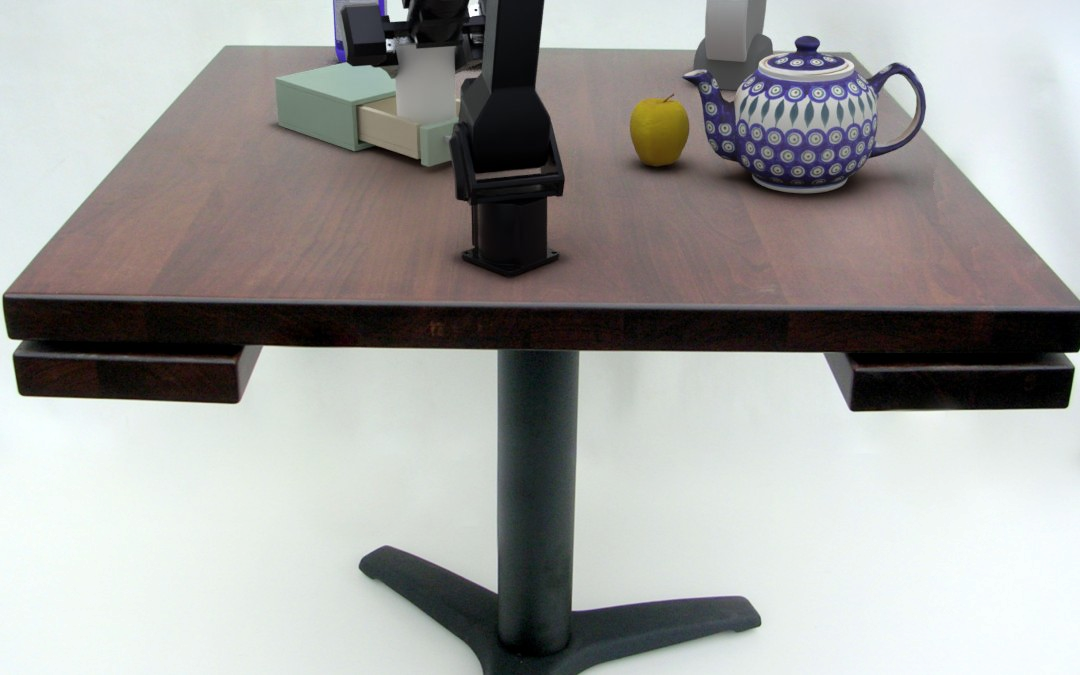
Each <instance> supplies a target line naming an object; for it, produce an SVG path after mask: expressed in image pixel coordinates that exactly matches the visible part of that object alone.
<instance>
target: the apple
mask: <svg viewBox="0 0 1080 675" xmlns="http://www.w3.org/2000/svg"><path fill="white" fill-rule="evenodd" d="M674 96H675V92H674V93H672V94H671V95H670V96H668V97H666V98H663V97H662V98H658V97H657V98H655V97H650V98H645V99H642V100H641V101H639V102H638V103H637V104H636V105H635V106H634V107H633V110H632V112H631V115H630V120H629V134H630V138H631V142H632V145H633V147H634V150H635V152H636V154H637V157H638V158H639V159H640V161H641V162H642V164H644V165H645V166H652V167H656V168H657V167H662V166H669V165H673V164H674V163H675V162H677V161H678V160H679V158H680V157H681V155H682V152H683V151H684V149H685V146H686V144H687V142H688V140H689V135H690V120H689V116H688V112H687V110H686V109H685V107H684V106H683V104H682V103H681V102H679V101H678V100H674V99H671V98H672V97H674Z"/></svg>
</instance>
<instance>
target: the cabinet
mask: <svg viewBox="0 0 1080 675" xmlns="http://www.w3.org/2000/svg"><path fill="white" fill-rule="evenodd" d="M274 82H275V95H276V107H277V118H278V126H279V127H282V128H284V129H288V130H291V131H293V132H296V133H299V134H303V135H305V136H308V137H311V138H314V139H317V140H320V141H323V142H325V143H329V144H331V145H335V146H336V147H337V146H338V147H340V148H343V149H346V150H349V151H351V152H357V151H361V150H365V149H369V148H372V147H377V146H376V145H373V144H370V143H367V142H364V141H361V140H358V134H357V117H356V105H360V104H364V103H368V102H372V101H376V100H380V99H384V98H388V97H392V96H396V82H395V79H391V78H390V76H389V75H388V73H387V72H386V71H385V70H383V69H382V68H374V67H372V66H371V65H368V66H354V67H353V66H351V65H350V64H348V63H347V62H345V63H342V62H340V63H337V64H333V65H328V66H327V65H326V66H322V67H318V68H315V69H310V70H305V71H300V72H296V73H291V74H287V75H281V76H277V77H275V78H274Z"/></svg>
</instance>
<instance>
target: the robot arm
mask: <svg viewBox="0 0 1080 675" xmlns="http://www.w3.org/2000/svg"><path fill="white" fill-rule="evenodd" d="M401 2H402V3H401V4H402V8H403V9H404V10H406V9H407V10H408V11H407V14H406V20H401V21H400V20H399V21H391V18H390V15H388V14H387V15H384V16H381V13H380V8H379V5H378V4H377V3H367V4H350V5H344V6H343V7H342V9H341V10H340V13H339V25H340V30H341V35H342V41H343V46H344V51H345V57H346V62H347V63H348V64H350V65H351V66H353V67H354V66H368V65H371V66H372V67H374V68H382V69H383V70H385V71H386V72H387V73H388V75H389V76H390V78H391V79H395V77H396V76H397V72H398V66H399V63H398V58H397V53H396V47H397V46H405V45H416V49H421V48H435V47H450V46H455V49H454V53H455V75H456V74H459V73H461V72H463V71H465V70H468V69H470V68H472V67H474V66H476V65H479V64H482V65H481V72H480V73H479V75H478V76H477V77H466V78H464V80H463V82H462V84H461V86H460V98H459V99H460V110H459V115H458V117H459V120H458V123H455V124H454V126H453V133H452V136H451V139H450V140H449V149H450V155H451V160H450V161H451V165H452V171H453V172H452V173H453V178H454V192H455V193H454V197H455V199H456V200H457V201H460V202H461V201H462V202H464V203H465V202H467V204H468V206H470V211H471V212H470V214H471V246H473V247H472V248H469V249H467V250H463V251H462V252H460V254H461V255H460V256H461V259H463V260H466V261H468V262H470V263H473V264H475V265H478V266H481V267H483V268H485V269H488V270H491V271H493V272H496V273H499V274H501V275H503V276H507V277H514V276H516V275H519V274H522V273H524V272H526V271H529V270H531V269H535V268H537V267H539V266H542V265H544V264H547V263H550V262H552V261H555V260H558V259H559V258H560V251H558V250H556V249H553V248H550V247H548V198H550V197H556V198H560V197H563V196H564V189H565V182H566V176H565V172H564V167H563V163H562V159H561V155H560V151H559V147H558V143H557V139H556V135H555V130H554V127H553V123H552V118H551V115H550V113H549V112H548V109H547V107H546V105H545V104H544V101H543V99H542V97H541V95H540V94H539V92H538V89H537V88H536V86H537V76H538V66H539V57H540V46H541V40H542V39H541V37H542V28H543V18H544V9H545V2H546V1H545V0H478V1H477V3H476V4H472V5H470V6H469V4H470V0H401ZM538 169H540V172H539V173H529V174H519V175H510V176H509V175H508V176H507V175H506V176H498V177H497V176H496V177H488V178H480V179H479V178H478V179H477V177H476V175H478V176H479V175H486V174H489V175H490V174H499V173H509V172H519V171H520V172H521V171H528V170H538Z"/></svg>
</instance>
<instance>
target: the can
mask: <svg viewBox="0 0 1080 675" xmlns="http://www.w3.org/2000/svg"><path fill="white" fill-rule="evenodd" d="M396 53H397V58H398V63H399V66H398V72H397V76H396V77H395V82H396V103H397V116H399V117H402V118H405V119H408V120H412V121H415V122H418V123H421V124H422V126H426V125H430V124H434V123H437V122H441V121H445V120H448V119H452V118H456V98H457V89H456V86H457V85H456V74H455V53H454V46H450V47H435V48H421V49H416V45H405V46H397V47H396Z"/></svg>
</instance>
